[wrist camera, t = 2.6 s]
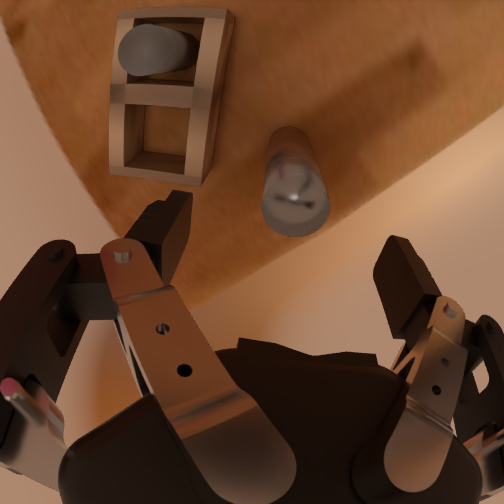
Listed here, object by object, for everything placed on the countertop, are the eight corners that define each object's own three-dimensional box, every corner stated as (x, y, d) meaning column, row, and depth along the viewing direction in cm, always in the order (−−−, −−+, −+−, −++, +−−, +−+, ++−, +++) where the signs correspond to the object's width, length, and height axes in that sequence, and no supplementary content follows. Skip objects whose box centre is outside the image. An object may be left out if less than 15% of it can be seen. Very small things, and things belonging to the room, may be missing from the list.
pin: (273, 122, 20) (269, 169, 12) (313, 131, 20) (338, 185, 12) (265, 160, 22) (256, 230, 14) (304, 168, 22) (318, 242, 14)
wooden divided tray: (141, 15, 15) (94, 5, 10) (235, 17, 15) (217, -1, 10) (129, 157, 22) (88, 191, 17) (210, 169, 23) (188, 207, 17)
